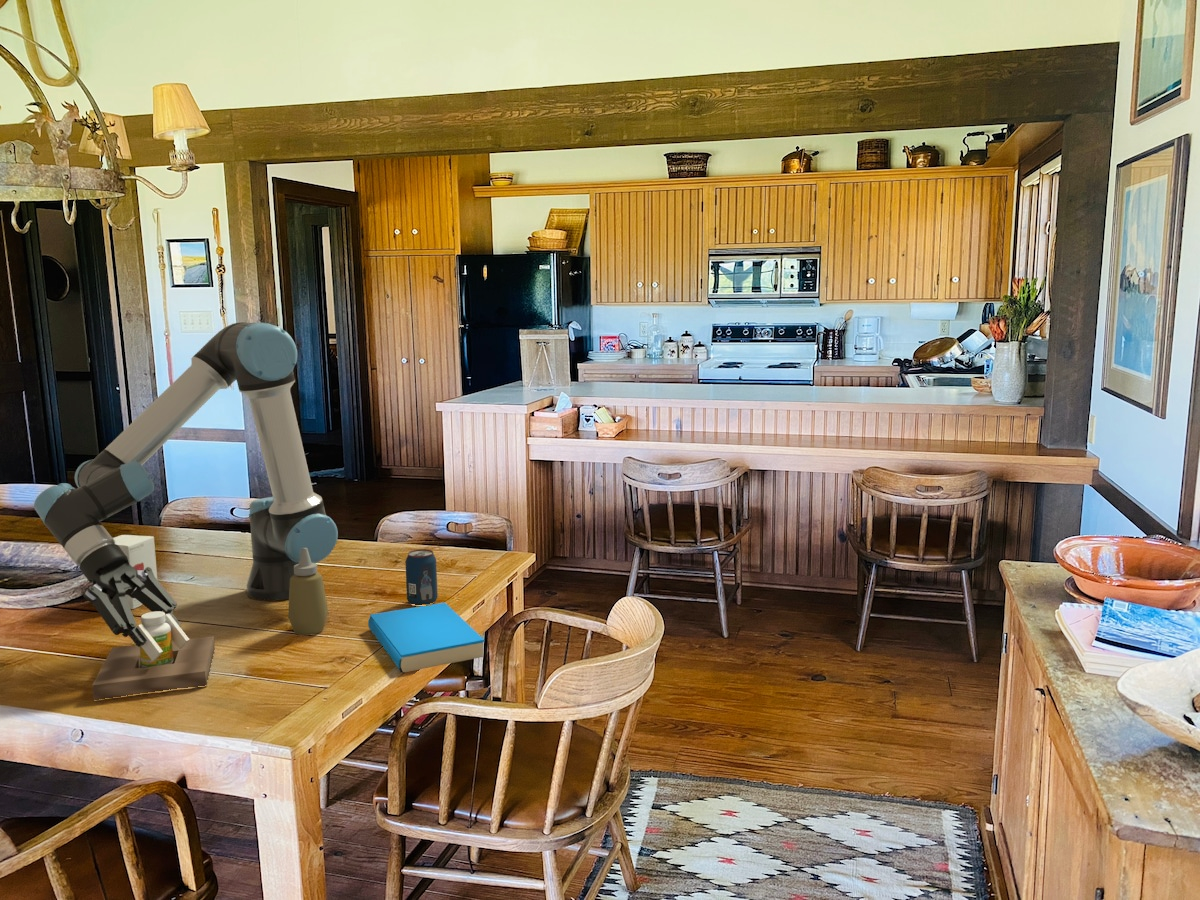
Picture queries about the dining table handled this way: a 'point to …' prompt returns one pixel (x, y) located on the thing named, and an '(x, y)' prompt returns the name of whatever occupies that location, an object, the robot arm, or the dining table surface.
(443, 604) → the book
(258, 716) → the dining table surface
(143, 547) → the supplement box
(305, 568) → the squeeze bottle
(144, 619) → the supplement bottle
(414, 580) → the soda can
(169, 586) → the dining table surface
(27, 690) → the dining table surface
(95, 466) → the robot arm
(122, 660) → the socket stand
